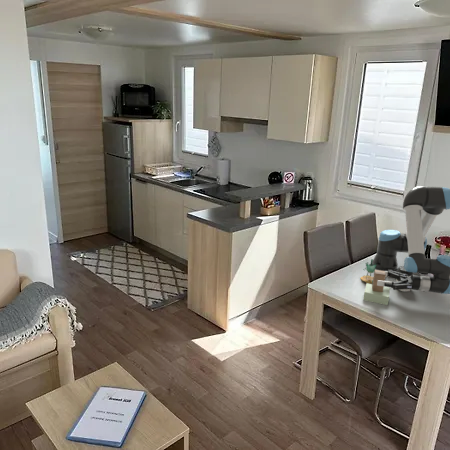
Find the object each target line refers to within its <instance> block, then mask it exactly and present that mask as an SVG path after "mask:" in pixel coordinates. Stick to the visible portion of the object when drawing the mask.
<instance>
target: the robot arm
mask: <svg viewBox="0 0 450 450" xmlns="http://www.w3.org/2000/svg"><path fill="white" fill-rule="evenodd" d="M444 210H445V211H446V210H450V188H449V187H443V186H425V185H418V186H414V187H413V188H411V189H410V190H409V191H408V192H407V193H406V195H405V196H404V198H403V201H402V211H403V212H404V213H405V214H404V215H405V223H406V232H405V233H401V232H400V231H399V230H397V229H384V230H382V231H380V233H379V236H378V243H377V248H376V254H375V255H374V258H373V262H372V264H374V265H376V264H377V265H376V267H375V269H377V270H380V271H385V274H386V276H385V278H386V277H387V278H392V279H395V280H396V279H397V280H398V282H396V281H395V282H394V281H390V280H389V281H388V280H385V281H381V280H378V281H377V286H384V287H389V288H390V289H392V290H393V291H398V290H399V291H400V290H401V289H410V290H414V291H421V292H430V293H431V292H432V293H437V294H441V295H443V294H444V295H450V255H446V254H438V255H437V256H436V258H426V256H425V253H426V252H425V251H426V248H427V245H428V239H427V236H426V235H427V233H428V232H429V230H430V227H431V226H432V224H433V223H434V221H435V220H436V218H437V216H439V215H441V214H442V213H443V212H444ZM398 253H404V254H405V253H407V254H408V256H407V257H405V258H404V260H403V266H404V268H405V270H406V271H407V272H413V273H414V275H412V276H411V277H407V276H408V275H407V274H402V273H399V272H398V268H399V265H398V258H397V255H398ZM375 263H376V264H375ZM416 273H417V274H426V276H425V275H417V274H416ZM427 274H429V275H432V276H428V275H427Z"/></svg>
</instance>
